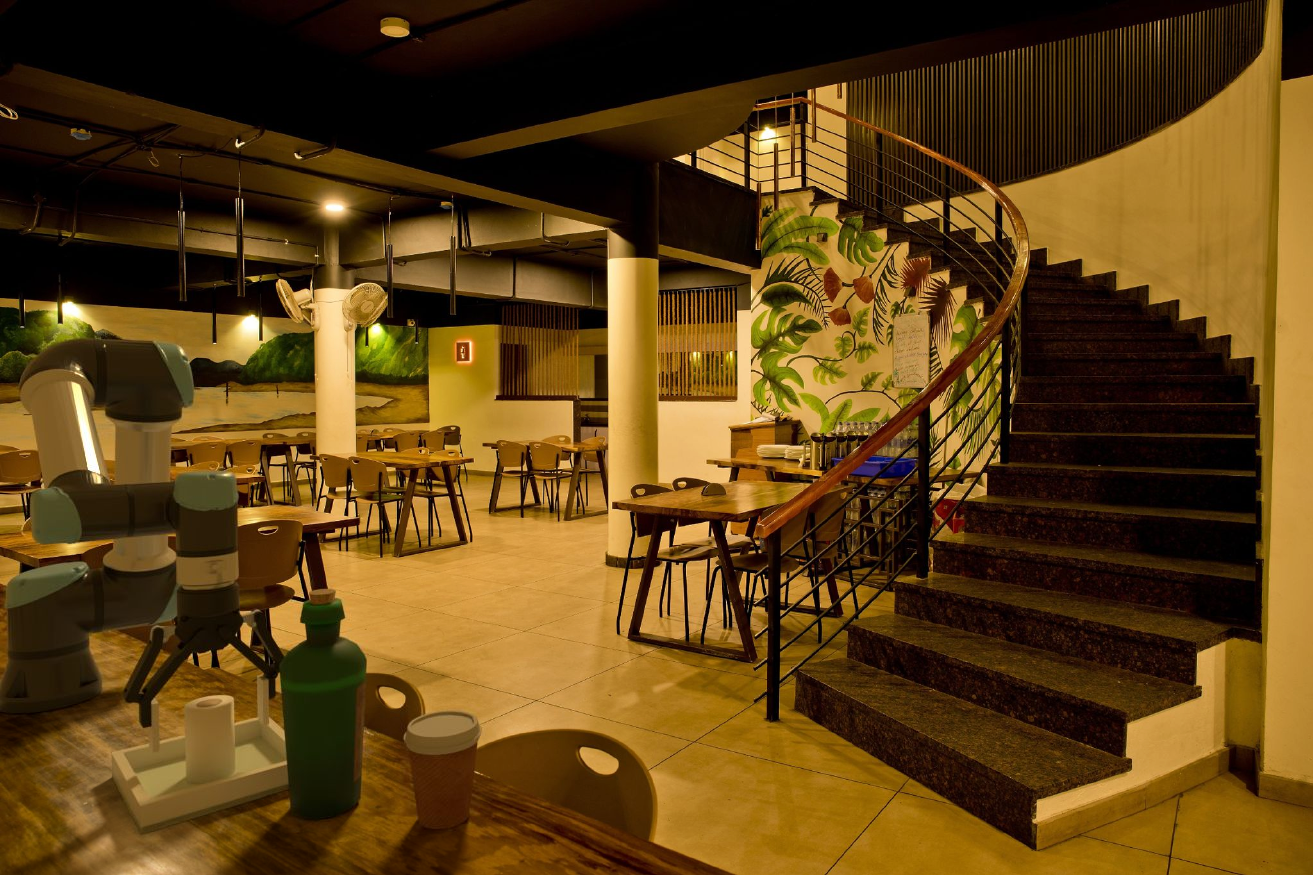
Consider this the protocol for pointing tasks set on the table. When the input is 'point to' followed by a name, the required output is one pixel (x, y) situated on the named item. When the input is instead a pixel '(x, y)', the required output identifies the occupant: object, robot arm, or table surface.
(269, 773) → the rectangular tray
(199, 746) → the kitchen roll
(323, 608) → the bottle
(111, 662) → the table surface
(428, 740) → the disposable coffee cup
